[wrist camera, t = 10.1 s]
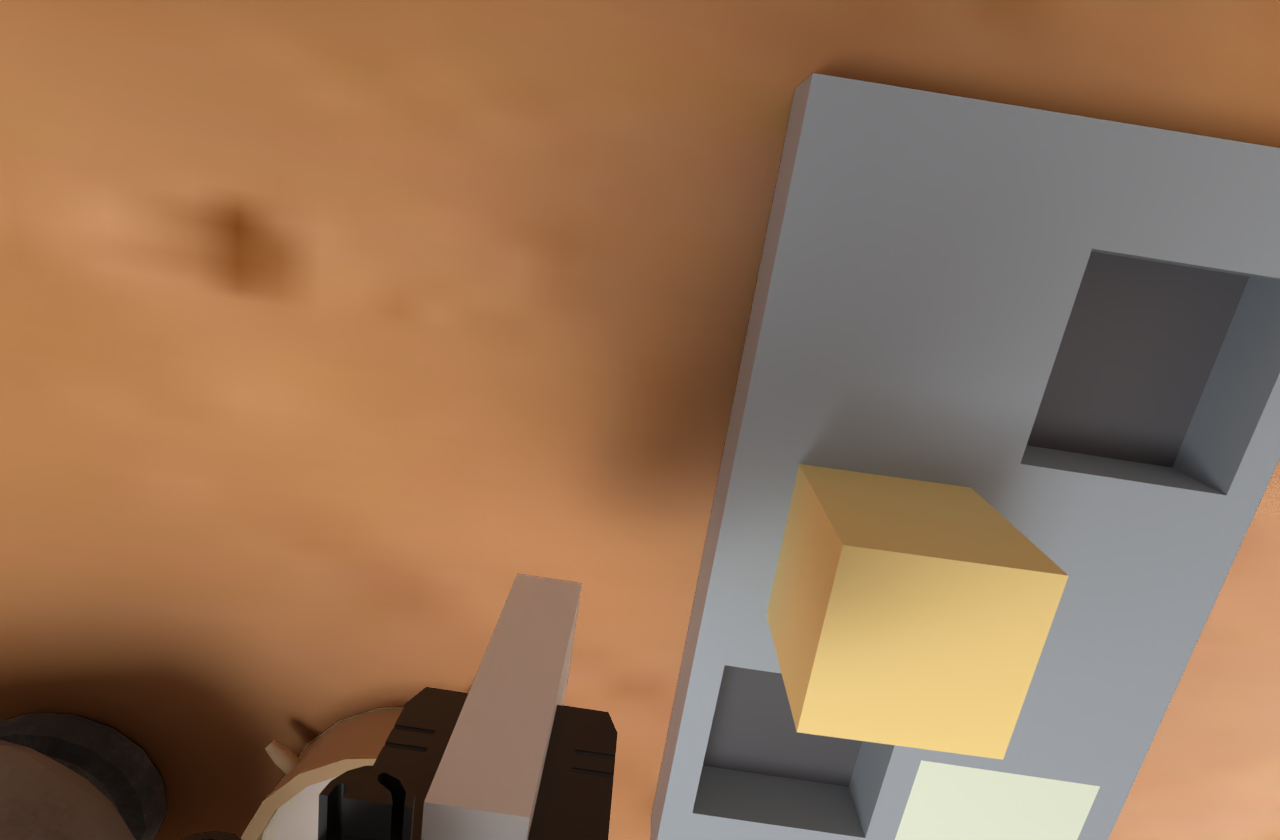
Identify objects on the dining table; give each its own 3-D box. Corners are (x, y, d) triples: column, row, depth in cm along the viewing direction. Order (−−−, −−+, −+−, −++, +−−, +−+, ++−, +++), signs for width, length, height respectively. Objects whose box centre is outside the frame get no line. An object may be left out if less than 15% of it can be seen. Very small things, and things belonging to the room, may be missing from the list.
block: (798, 464, 20) (842, 545, 15) (971, 487, 20) (1069, 576, 15) (766, 615, 21) (796, 732, 17) (926, 636, 21) (1003, 759, 17)
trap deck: (794, 88, 19) (813, 72, 17) (1321, 173, 19) (1410, 169, 17) (650, 818, 27) (649, 875, 25) (1031, 872, 27) (1065, 934, 25)
